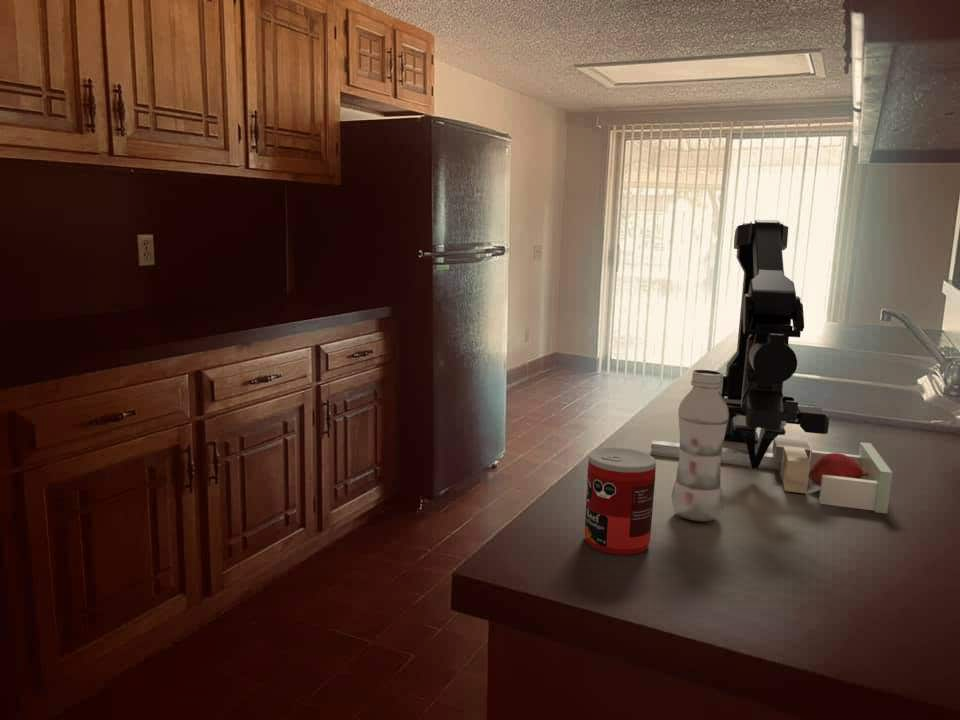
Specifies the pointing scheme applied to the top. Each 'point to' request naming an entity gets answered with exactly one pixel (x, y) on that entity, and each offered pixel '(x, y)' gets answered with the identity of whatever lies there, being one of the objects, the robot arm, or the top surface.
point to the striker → (793, 463)
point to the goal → (858, 482)
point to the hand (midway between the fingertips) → (754, 468)
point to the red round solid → (836, 467)
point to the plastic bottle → (701, 448)
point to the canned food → (619, 500)
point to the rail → (726, 456)
